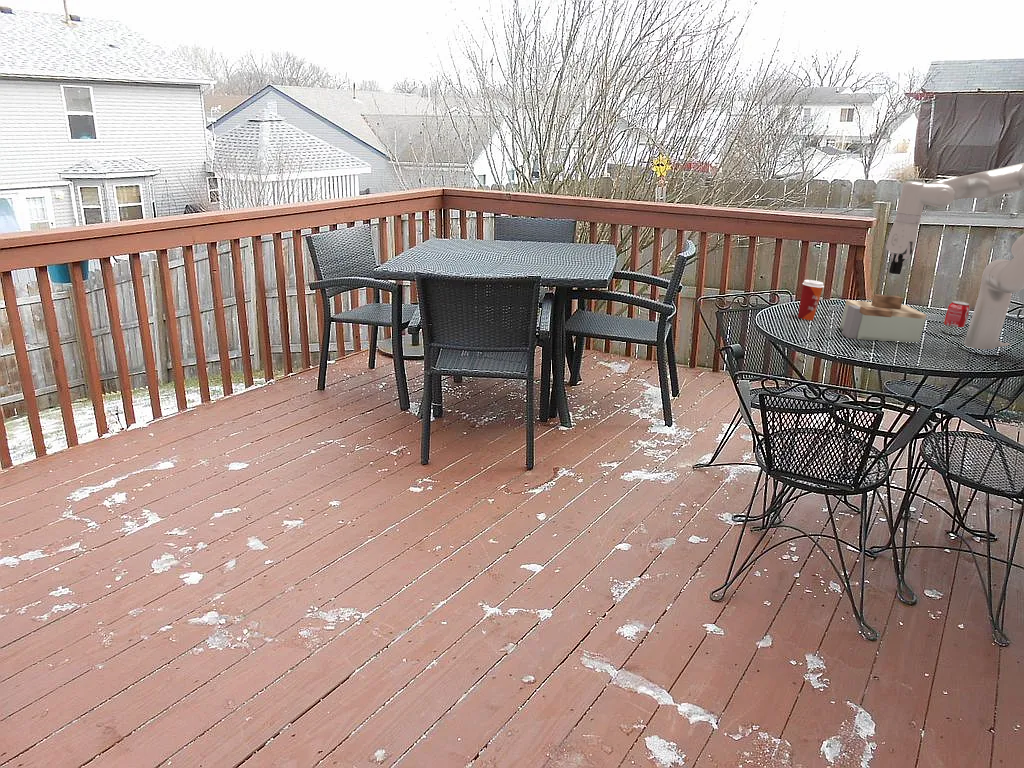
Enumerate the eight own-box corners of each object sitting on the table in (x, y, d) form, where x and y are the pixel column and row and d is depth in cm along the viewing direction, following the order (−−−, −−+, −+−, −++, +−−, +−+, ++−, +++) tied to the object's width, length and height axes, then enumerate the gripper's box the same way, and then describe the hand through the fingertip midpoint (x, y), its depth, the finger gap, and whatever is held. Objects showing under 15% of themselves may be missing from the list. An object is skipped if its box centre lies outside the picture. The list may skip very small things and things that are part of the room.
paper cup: (812, 322, 284) (821, 284, 279) (792, 317, 288) (800, 280, 284) (819, 319, 290) (827, 282, 285) (798, 314, 294) (806, 278, 290)
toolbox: (898, 333, 280) (905, 305, 277) (918, 344, 267) (926, 314, 263) (831, 327, 279) (838, 299, 275) (848, 338, 265) (855, 308, 262)
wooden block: (885, 314, 257) (886, 308, 256) (891, 317, 253) (892, 311, 253) (859, 312, 257) (860, 306, 256) (864, 315, 253) (866, 309, 252)
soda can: (957, 332, 290) (966, 301, 286) (965, 337, 284) (975, 305, 280) (937, 330, 291) (946, 299, 287) (945, 335, 284) (955, 303, 280)
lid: (904, 309, 277) (908, 294, 275) (925, 319, 264) (929, 303, 262) (845, 304, 276) (849, 288, 274) (863, 313, 263) (867, 298, 261)
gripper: (885, 215, 265) (873, 268, 271) (909, 221, 251) (895, 277, 257) (906, 217, 266) (893, 270, 272) (931, 223, 252) (916, 278, 258)
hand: (894, 273), depth 264 cm, fingers closed
